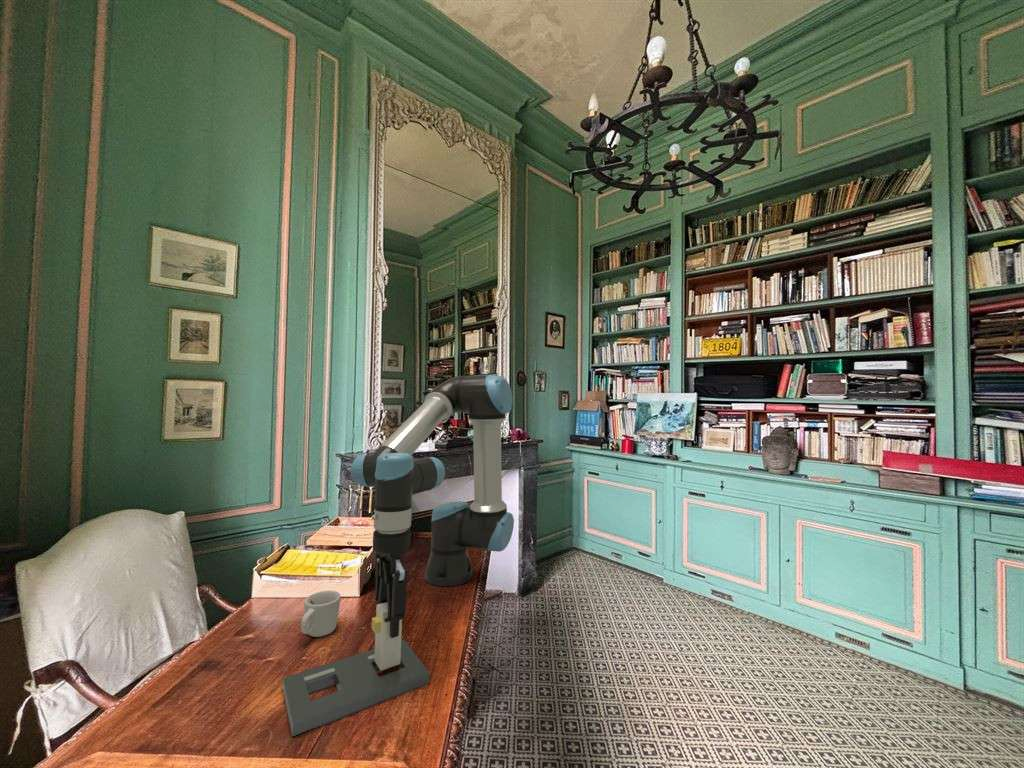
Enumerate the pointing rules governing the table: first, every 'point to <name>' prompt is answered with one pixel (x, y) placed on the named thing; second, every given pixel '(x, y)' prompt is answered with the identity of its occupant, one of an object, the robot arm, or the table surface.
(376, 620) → the plug
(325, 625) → the cup
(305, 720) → the panel
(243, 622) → the table surface
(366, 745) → the table surface
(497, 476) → the robot arm
